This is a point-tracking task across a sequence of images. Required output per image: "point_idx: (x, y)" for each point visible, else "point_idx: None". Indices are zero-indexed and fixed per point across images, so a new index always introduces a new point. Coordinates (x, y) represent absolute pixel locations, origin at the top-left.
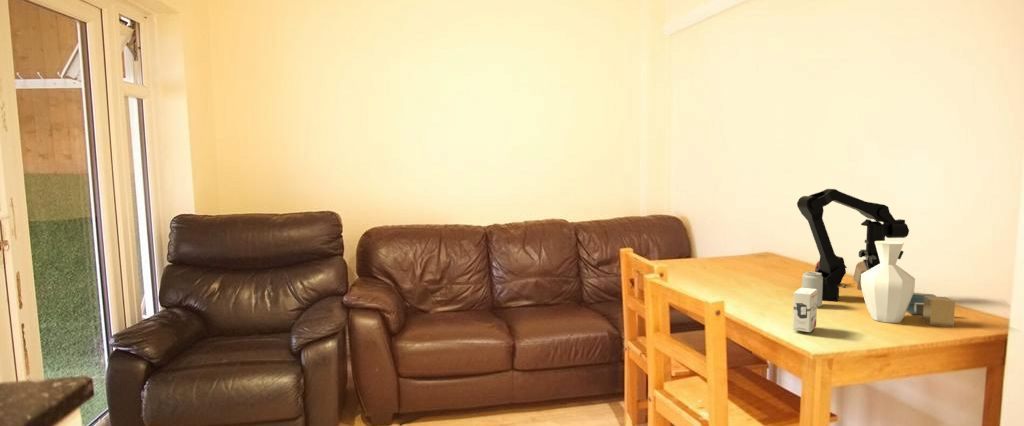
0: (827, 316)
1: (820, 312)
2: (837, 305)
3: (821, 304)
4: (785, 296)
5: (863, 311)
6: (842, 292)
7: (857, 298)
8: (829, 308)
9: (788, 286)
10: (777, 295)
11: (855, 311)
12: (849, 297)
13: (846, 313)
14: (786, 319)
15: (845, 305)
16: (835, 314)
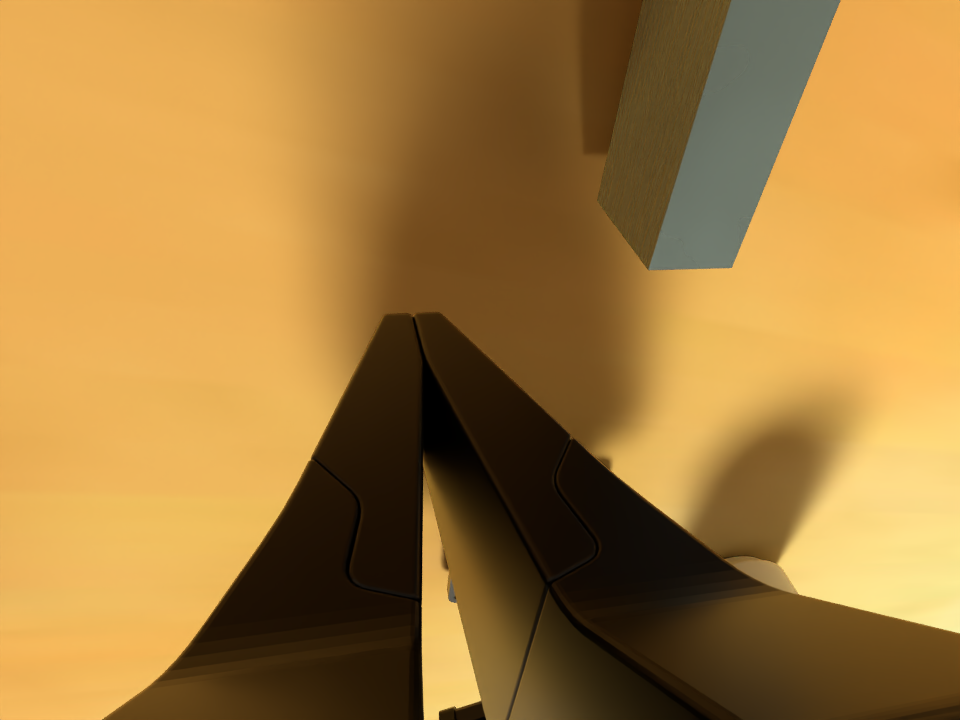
0: (948, 527)
1: (862, 549)
2: (704, 482)
3: (776, 569)
4: (453, 676)
5: (914, 360)
6: (33, 411)
7: (374, 317)
8: (783, 518)
9: (24, 709)
10: (434, 699)
11: (896, 406)
12: (344, 381)
13: (925, 454)
14: (932, 625)
15: (708, 441)
16: (925, 499)
